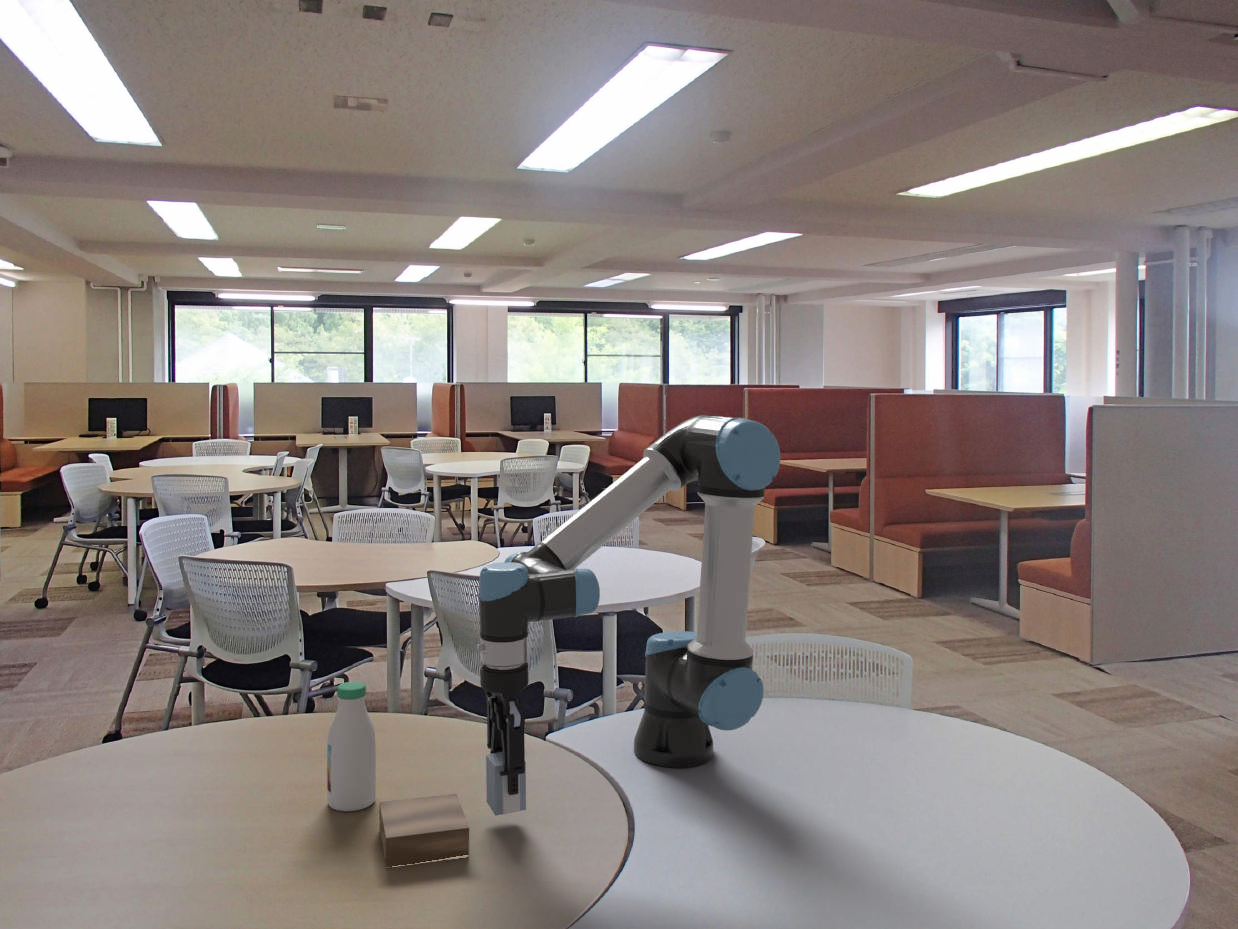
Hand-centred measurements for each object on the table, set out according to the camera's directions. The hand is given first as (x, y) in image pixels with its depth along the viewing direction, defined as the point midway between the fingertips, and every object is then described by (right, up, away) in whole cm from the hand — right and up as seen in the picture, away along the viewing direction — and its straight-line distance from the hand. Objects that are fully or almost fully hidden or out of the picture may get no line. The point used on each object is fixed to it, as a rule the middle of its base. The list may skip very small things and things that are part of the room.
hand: (506, 803), depth 157 cm
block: (0, 0, 0) cm, 0 cm away
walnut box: (-12, -4, -7) cm, 14 cm away
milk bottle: (-26, -2, +6) cm, 27 cm away
